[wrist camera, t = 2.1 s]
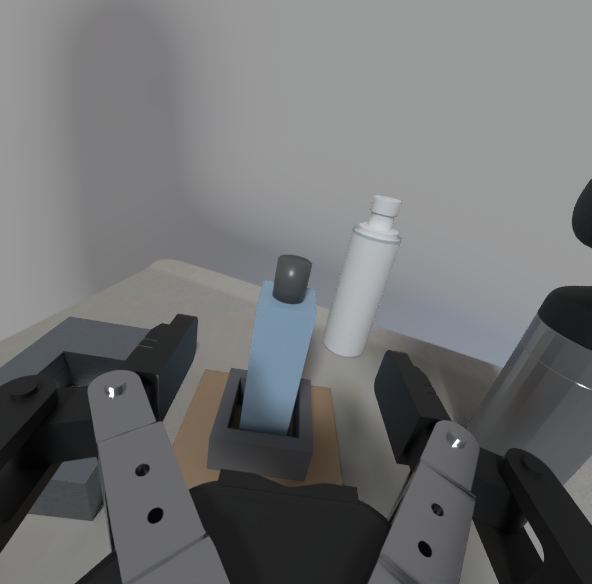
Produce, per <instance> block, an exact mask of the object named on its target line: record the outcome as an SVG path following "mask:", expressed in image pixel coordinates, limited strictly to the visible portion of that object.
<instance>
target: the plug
mask: <svg viewBox="0 0 592 584" xmlns="http://www.w3.org/2000/svg"><path fill="white" fill-rule="evenodd" d="M311 267H312V263H311V262H310V261H309V260H307V259H305V258H303V257H299V256H294V255H282V256H280V257H279V258H278V263H277V269H276V274H275V280H274V282H271V281H265V280H264V283H263V286H262V290H261V294H260V297H259V301H258V305H257V311H256V318H255V325H254V332H253V338H252V345H251V352H250V359H249V365H248V372H247V379H246V386H245V393H244V399H243V406H242V413H241V420H240V426H239V430H244V431H251V432H258V433H265V434H273V435H280V436H287V432H288V428H289V424H290V420H291V416H292V412H293V408H294V404H295V400H296V396H297V392H298V388H299V384H300V380H301V376H302V372H303V368H304V364H305V360H306V356H307V352H308V347H309V343H310V339H311V335H312V331H313V327H314V323H315V319H316V315H317V312H316V302H315V292H314V289H311V288H307V285H308V280H309V276H310V272H311Z"/></svg>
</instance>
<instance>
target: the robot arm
mask: <svg viewBox="0 0 592 584" xmlns="http://www.w3.org/2000/svg"><path fill="white" fill-rule="evenodd" d="M572 227H573V231H574V233H575V235H576V237H577V238H578V239H579V240H580V241H581V242H582V243H583V244H584V245H587V246H588V247H590V248H592V179H591V180H590V181H589V183H588V184H587V186H586V187H585V189H584V190H583V192H582V193H581V195H580V197H579V198H578V200H577V203H576V205H575V207H574V211H573V216H572ZM197 326H198V318H197V317H195V316H190V315H184V314H177V315H176V317H175V318H174V319H173V321H172V322H171V323H170V325H169V324H163V323H162V324H160V325H158V326H156V327H154V328H153V329H151V330H150V331H149V332H148V334H147V335H146V336H145V337H144V339H143V340H142V341H141V342H140V343H139V345H138V346H137V347H136V348H135V349H134V350H133V352H132V353H131V354H130V355H129V356H128V358H127V359H126V360H125V361H124V362H123V364H122V365H121V366H120V367H119V368H118V370H115V371H110V372H107V373H104V374H102V375H100V376H98V377H97V378H95V379H94V380H93V381H92V382H91V383H90V385H88V386H80V387H67V388H57V387H56V382H55V380H54V379H53V378H51V377H49V376H45V375H28V376H23V377H19V378H16V379H13V380H11V381H9V382H7V383H5V384H3V385H2V386H0V553H1V551H2V550H3V548H4V547H5V546H6V544H7V543H8V541H9V540H10V538H11V537H12V535H13V534H14V532H15V531H16V530H17V528H18V527H19V525H20V524H21V522H22V521H23V519H24V518H25V516H26V515H27V514H28V512H29V511H30V509H31V508H32V506H33V505H34V503H35V502H36V500H37V499H38V497H39V496H40V495H41V493H42V492H43V490H44V489H45V487H46V486H47V484H48V483H49V481H50V480H51V479H52V477H53V476H54V474H55V473H56V471H57V470H58V468H59V467H60V465H61V464H62V463H63V462H66V461H73V460H79V459H86V458H92V457H96V460H97V466H98V472H99V478H100V484H101V490H102V496H103V502H104V508H105V514H106V521H107V527H108V534H109V540H110V546H111V553H110V554H109V555H108V556H107V557H105V558H104V559H103V560H102V561H101V562H100V563H98V564H97V565H96V566H95V567H94V568H93V569H91V570H90V571H89V572H88V573H87V574H86V575H84V576H83V577H82V578H81V579H80V580H79V581H77V582H76V583H75V584H459V580H460V575H461V570H462V565H463V560H464V555H465V550H466V545H467V540H468V536H469V531H470V526H471V521H472V520H473V522H474V524H475V527H476V529H477V532H478V534H479V536H480V539H481V541H482V543H483V546H484V548H485V551H486V553H487V555H488V558H489V560H490V563H491V565H492V567H493V570H494V572H495V575H496V577H497V579H498V582H499V584H592V525H591V524H590V522H589V521H588V520H587V518H586V517H585V516H584V514H583V513H582V511H581V510H580V509H579V507H578V506H577V505H576V503H575V502H574V501H573V499H572V498H571V496H570V495H569V494H568V492H567V491H566V490H565V488H564V487H563V485H564V484H565V483H566V482H567V481H568V480H569V479H570V478H571V477H572V476H573V475H574V474H575V473H576V472H577V471H578V469H579V468H580V467H581V466H582V465H583V464H584V463H585V462H586V461H587V460H588V459H589V458H590V456H591V455H592V286H564V287H560V288H557V289H555V290H553V291H552V292H551V293H550V294H549V295H548V296H547V297H546V299H545V300H544V302H543V304H542V305H541V307H540V309H539V310H538V312H537V314H536V316H535V317H534V319H533V320H532V322H531V324H530V325H529V327H528V329H527V330H526V332H525V334H524V335H523V337H522V339H521V340H520V342H519V344H518V345H517V347H516V348H515V350H514V352H513V353H512V355H511V356H510V358H509V360H508V361H507V363H506V365H505V366H504V368H503V369H502V371H501V373H500V374H499V376H498V377H497V379H496V381H495V382H494V384H493V386H492V387H491V389H490V390H489V392H488V394H487V395H486V397H485V398H484V400H483V402H482V403H481V405H480V406H479V408H478V409H477V411H476V413H475V414H474V416H473V418H472V419H471V421H470V422H469V424H468V426H467V427H466V429H465V428H464V427H462V426H461V425H459V424H457V423H455V422H452V421H451V419H450V417H449V415H448V414H447V412H446V410H445V408H444V406H443V405H442V403H441V401H440V399H439V397H438V396H437V395H436V392H435V390H434V388H433V387H432V385H431V383H430V381H429V380H428V378H427V376H426V375H425V374H424V373H423V372H422V371H421V370H420V369H419V368H418V367H415V366H413V364H412V362H411V360H410V358H409V356H408V355H407V354H406V353H403V352H397V351H391V350H388V351H387V352H386V353H385V355H384V358H383V360H382V363H381V365H380V368H379V370H378V373H377V376H376V378H375V383H374V391H375V395H376V398H377V401H378V405H379V408H380V411H381V414H382V418H383V421H384V424H385V427H386V431H387V434H388V437H389V440H390V444H391V447H392V450H393V453H394V457H395V460H396V463H397V464H404V465H409V467H410V470H411V471H410V473H409V474H408V476H407V478H406V481H405V483H404V485H403V487H402V489H401V491H400V494H399V496H398V498H397V500H396V502H395V504H394V506H393V509H392V511H391V513H390V515H389V517H388V519H386V518H385V517H384V516H383V515H381V514H380V513H379V512H378V511H377V510H375V509H374V508H372V507H371V506H369V505H368V504H366V503H364V502H362V501H360V500H358V494H357V488H356V487H351V486H344V485H336V484H329V483H319V484H312V485H304V486H297V487H287V486H284V485H282V484H279V483H277V482H275V481H272V480H270V479H267V478H265V477H263V476H260V475H258V474H255V473H249V472H242V471H234V470H227V469H221V470H220V474H219V478H218V480H217V481H210V482H207V483H203V484H200V485H198V486H195V487H193V488H191V489H189V490H188V487H187V484H186V482H185V479H184V477H183V474H182V472H181V469H180V466H179V464H178V461H177V459H176V456H175V453H174V451H173V448H172V446H171V443H170V441H169V438H168V435H167V433H166V430H165V428H164V425H163V423H162V422H163V420H164V418H165V416H166V414H167V412H168V410H169V408H170V406H171V404H172V402H173V400H174V398H175V396H176V394H177V392H178V390H179V388H180V386H181V384H182V382H183V380H184V378H185V376H186V374H187V372H188V370H189V368H190V366H191V364H192V362H193V359H194V356H195V352H196V341H197ZM527 522H529V524H530V525H531V527H532V529H533V531H534V532H535V534H536V536H537V538H538V539H539V541H540V543H541V545H542V548H543V552H544V562H543V561H542V560H541V558H540V556H539V554H538V552H537V550H536V549H535V547H534V545H533V543H532V541H531V540H530V538H529V536H528V534H527V532H526V530H525V529H524V527H523V526H524V525H525V524H526V523H527Z"/></svg>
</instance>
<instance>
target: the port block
mask: <svg viewBox="0 0 592 584" xmlns="http://www.w3.org/2000/svg"><path fill="white" fill-rule="evenodd" d="M149 331H150V329H143V328H137V327H131V326H125V325H118V324H112V323H106V322H100V321H93V320H87V319H81V318H75V317H68V318H67V319H66V320H64V321H63V322H62V323H60V324H59V325H58V326H56V327H55V328H54V329H52V330H51V331H49V332H48V333H47V334H45V335H44V336H43V337H41V338H40V339H39V340H37V341H36V342H35V343H33V344H32V345H31V346H29V347H28V348H27V349H25V350H24V351H22V352H21V353H20V354H18V355H17V356H16V357H14V358H13V359H12V360H10V361H9V362H8V363H6V364H5V365H4V366H2V367H1V368H0V386H2V385H3V384H5V383H7V382H9V381H11V380H13V379H16V378H19V377H23V376H28V375H45V376H49V377H51V378H53V379H54V380H55V382H56V387H57V388H67V387H68V386H69V385H70V384H71V385H78V386H88V385H90V383H91V382H92V381H93V380H94V379H95V378H97V377H98V376H100V375H102V374H104V373H107V372H110V371H115V370H118V368H119V367H120V366H121V365H122V364H123V362H124V361H125V360H126V359H127V358H128V356H129V355H130V354H131V353H132V352H133V350H134V349H135V348H136V347H137V346H138V345H139V343H140V342H141V341H142V340H143V339H144V337H145V336H146V335H147V334H148V332H149ZM102 502H103V496H102V490H101V484H100V478H99V472H98V466H97V460H96V457H92V458H86V459H79V460H73V461H66V462H63V463H62V464H61V465H60V467H59V468H58V470H57V471H56V473H55V474H54V476H53V477H52V479H51V480H50V481H49V483H48V484H47V486H46V487H45V489H44V490H43V492H42V493H41V495H40V496H39V497H38V499H37V500H36V502H35V503H34V505H33V506H32V508H31V509H30V511H29V512H28V513H29V514H38V515H46V516H55V517H63V518H72V519H80V520H89V521H92V520H93V519H94V517H95V515H96V513H97V511H98V510H99V508H100V506H101V504H102Z"/></svg>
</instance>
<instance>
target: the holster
mask: <svg viewBox="0 0 592 584" xmlns="http://www.w3.org/2000/svg"><path fill="white" fill-rule="evenodd" d="M247 372H248V370H242V369H235V368H231V370H230V373H227V372H220V371H214V370H207V369H205V371H204V374H203V376H202V379H201V381H200V383H199V386H198V388H197V390H196V393H195V395H194V397H193V400H192V402H191V404H190V407H189V409H188V411H187V414H186V416H185V418H184V421H183V423H182V425H181V428H180V430H179V432H178V435H177V437H176V439H175V442H174V444H173V447H172V448H173V451H174V453H175V456H176V459H177V461H178V464H179V466H180V469H181V472H182V474H183V477H184V479H185V482H186V484H187V487H188V490H189V489H191V488H193V487H195V486H198V485H200V484H203V483H207V482H210V481H217V480H218V478H219V474H220V470H221V469H227V470H234V471H242V472H249V473H255V474H258V475H260V476H263V477H265V478H267V479H270V480H272V481H275V482H277V483H279V484H282V485H284V486H287V487H297V486H304V485H312V484H319V483H329V484H336V485H343V484H342V476H341V467H340V459H339V451H338V443H337V435H336V427H335V418H334V410H333V402H332V394H331V388H324V387H318V386H311V383H310V380H306V379H301V380H300V384H299V388H298V392H297V396H296V400H295V404H294V408H293V412H292V416H291V420H290V424H289V428H288V432H287V436H280V435H273V434H265V433H258V432H251V431H244V430H239V426H240V420H241V413H242V406H243V399H244V393H245V386H246V379H247Z"/></svg>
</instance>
